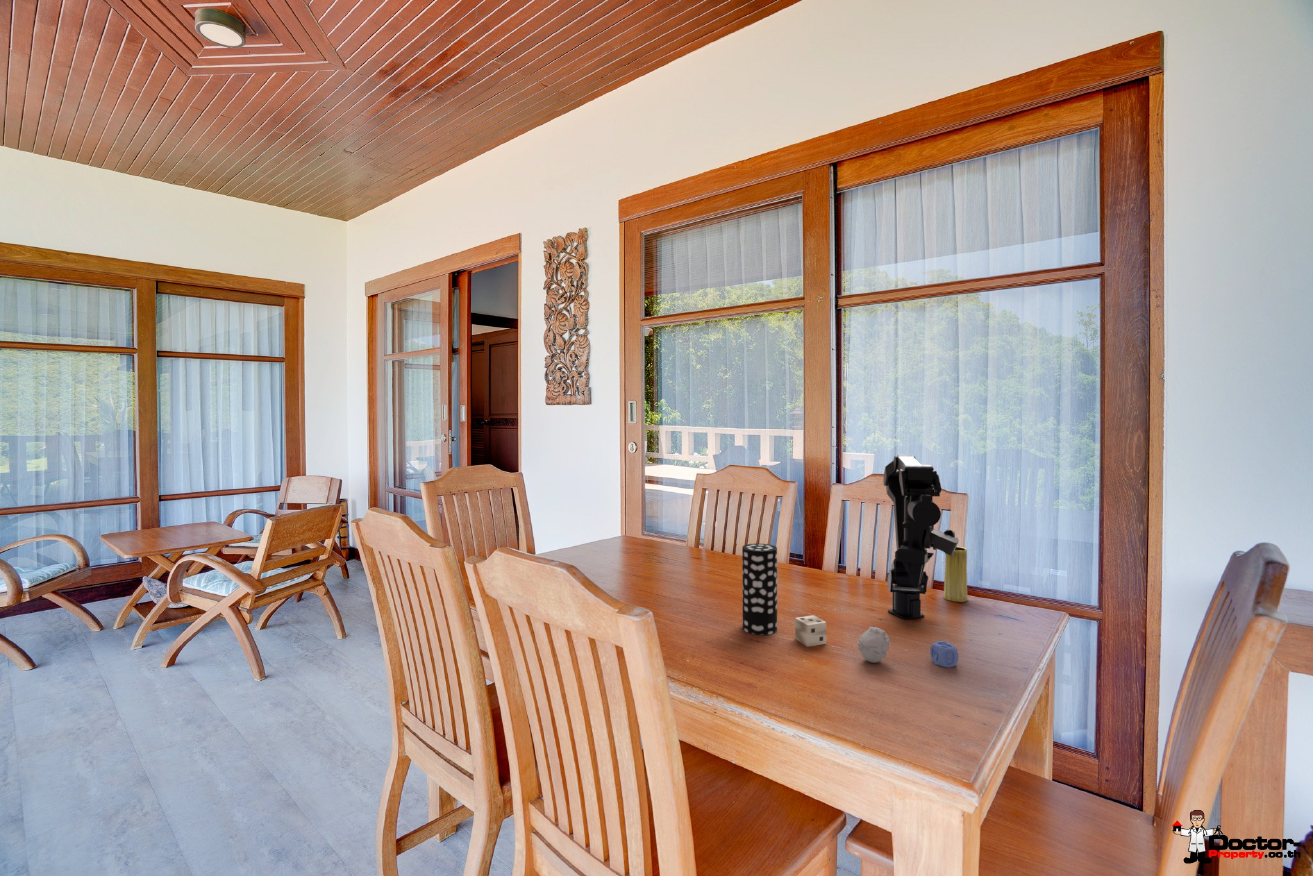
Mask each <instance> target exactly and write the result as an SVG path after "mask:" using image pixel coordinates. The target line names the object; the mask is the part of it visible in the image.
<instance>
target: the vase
mask: <svg viewBox="0 0 1313 876" xmlns="http://www.w3.org/2000/svg"><path fill="white" fill-rule="evenodd" d="M967 553H968V549H967V548H966V547H963V546H958V545H957V546H956V548H955V551H954V553H953V554H952V555H948V554H945V559H944V560H945V562H944V563H945V564H944V581H943V582H944V583H943V596H942V597H943V598H944V599H945V600H947V601H950V602H954V603H964V602H965V603H966V602H967V601H968V600H969V599H968V598H969V597H968V573H967V572H968V571H967V570H968V569H967V567H968V566H967V565H968V556H967V555H968V554H967Z"/></svg>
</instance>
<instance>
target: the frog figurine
mask: <svg viewBox="0 0 1313 876" xmlns="http://www.w3.org/2000/svg"><path fill="white" fill-rule="evenodd" d="M890 640H891V639H890V637H889V636H888V633H886V631H885V630H884V629H882V628H880V627H876V626H869V627H868V629H866V630H865V632H863V633H862V634H861V635H860V638H859V640H858V642H857V646H858V650H859V652H860V654H861V656H862V657H863V658H864V660H865V661H867V662H869V663H873V664H875V663H879V662H881V661H883V660H884V658H885V657H886V655H887V652H888V651H889V648H890V647H889V646H890V644H891V643H890Z"/></svg>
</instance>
